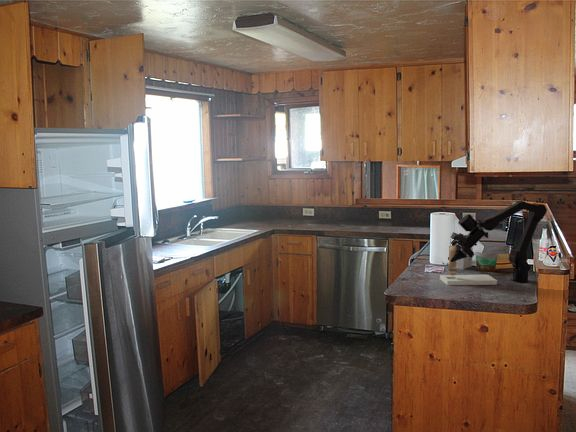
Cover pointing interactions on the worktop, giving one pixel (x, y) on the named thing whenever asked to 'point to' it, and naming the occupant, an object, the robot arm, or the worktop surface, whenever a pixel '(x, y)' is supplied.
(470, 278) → the board
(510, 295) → the worktop surface
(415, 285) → the worktop surface
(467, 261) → the light bulb box
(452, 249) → the peg
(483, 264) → the food container
